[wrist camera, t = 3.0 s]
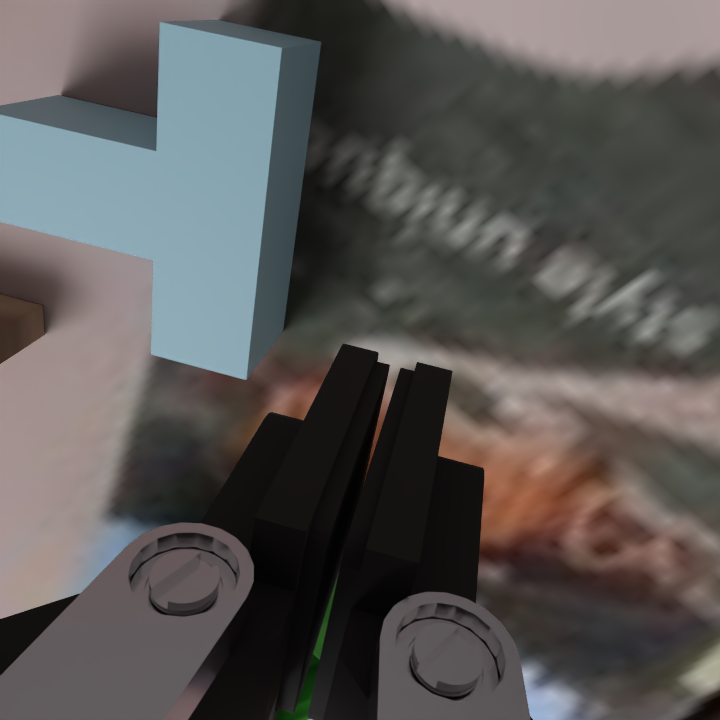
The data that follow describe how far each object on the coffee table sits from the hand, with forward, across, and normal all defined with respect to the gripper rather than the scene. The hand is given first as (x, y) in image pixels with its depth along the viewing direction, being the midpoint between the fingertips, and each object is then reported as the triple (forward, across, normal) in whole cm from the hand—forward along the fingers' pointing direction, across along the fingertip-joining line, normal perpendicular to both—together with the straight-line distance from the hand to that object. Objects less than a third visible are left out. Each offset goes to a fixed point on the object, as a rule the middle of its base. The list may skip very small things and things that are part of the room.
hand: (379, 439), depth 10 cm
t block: (+11, +9, 0) cm, 14 cm away
